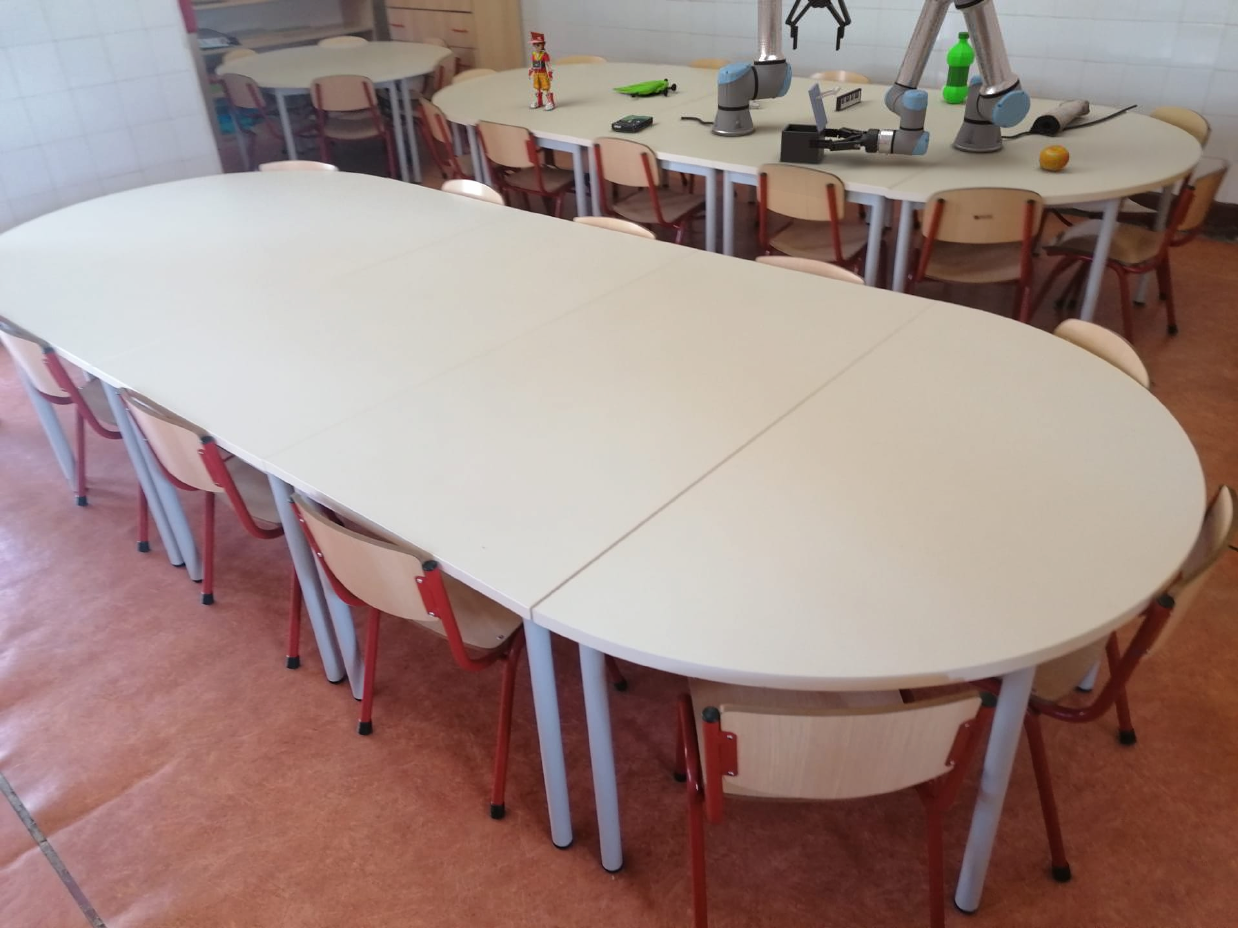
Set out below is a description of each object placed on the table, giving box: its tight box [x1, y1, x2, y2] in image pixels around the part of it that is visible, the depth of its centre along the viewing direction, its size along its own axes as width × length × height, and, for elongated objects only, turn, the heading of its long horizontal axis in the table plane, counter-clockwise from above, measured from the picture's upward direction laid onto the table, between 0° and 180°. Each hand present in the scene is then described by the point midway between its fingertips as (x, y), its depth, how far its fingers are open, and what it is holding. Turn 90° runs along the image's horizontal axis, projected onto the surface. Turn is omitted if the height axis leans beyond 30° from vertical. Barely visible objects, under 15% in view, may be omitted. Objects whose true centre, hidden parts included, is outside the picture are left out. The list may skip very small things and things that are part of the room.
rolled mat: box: [1028, 99, 1091, 137], centre depth 319 cm, size 30×9×10 cm
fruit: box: [1038, 144, 1071, 172], centre depth 279 cm, size 8×8×8 cm
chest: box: [779, 123, 827, 165], centre depth 301 cm, size 13×10×10 cm
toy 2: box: [612, 78, 677, 99], centre depth 396 cm, size 28×5×30 cm
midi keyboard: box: [835, 87, 863, 112], centre depth 357 cm, size 18×1×5 cm, turn 138°
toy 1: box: [527, 31, 556, 111], centre depth 374 cm, size 12×9×30 cm
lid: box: [807, 82, 842, 132], centre depth 291 cm, size 13×10×8 cm
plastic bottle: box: [942, 31, 976, 104], centre depth 348 cm, size 10×10×25 cm
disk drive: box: [610, 114, 654, 133], centre depth 348 cm, size 10×3×15 cm
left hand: (816, 49), depth 284 cm, fingers open, 13 cm apart
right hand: (813, 137), depth 299 cm, fingers open, 13 cm apart
